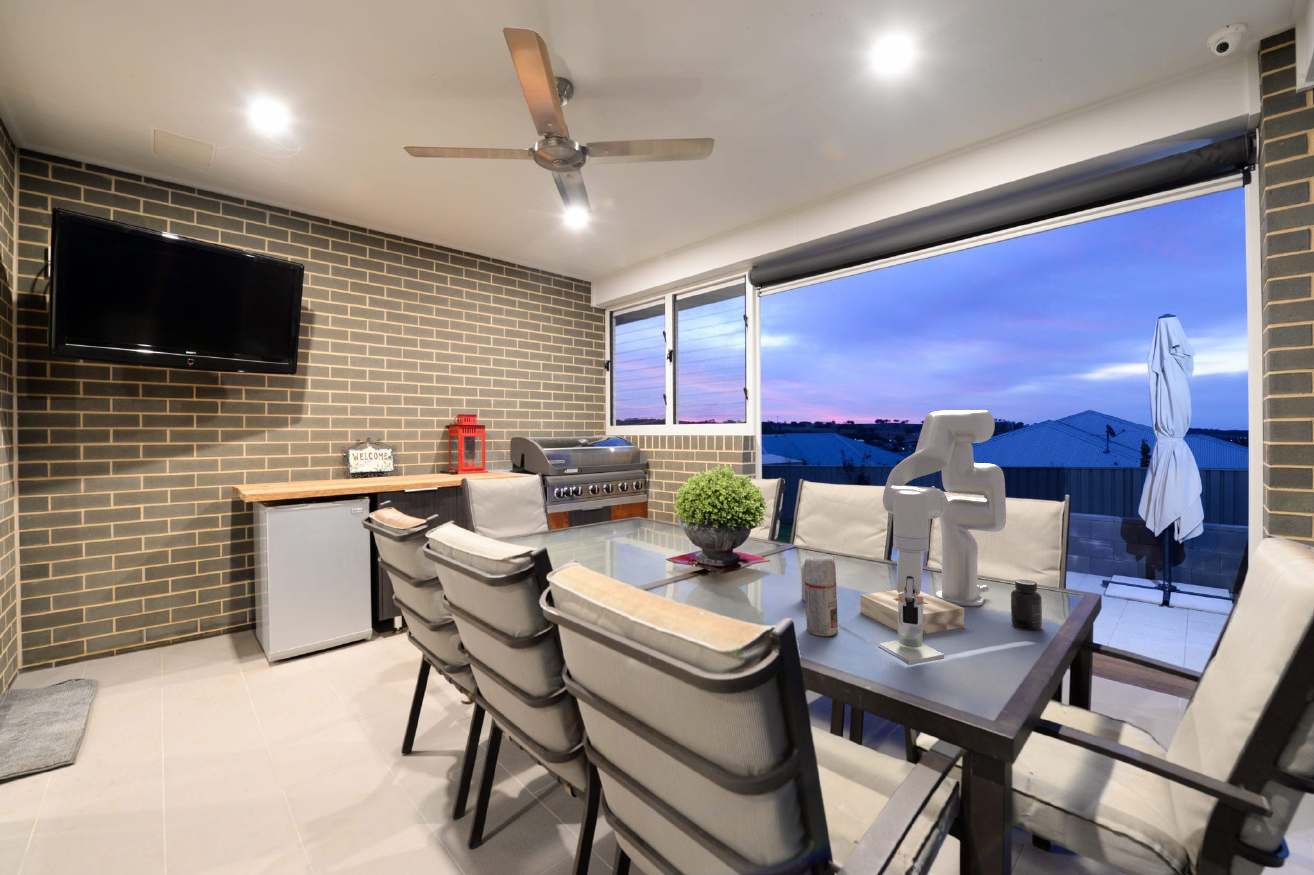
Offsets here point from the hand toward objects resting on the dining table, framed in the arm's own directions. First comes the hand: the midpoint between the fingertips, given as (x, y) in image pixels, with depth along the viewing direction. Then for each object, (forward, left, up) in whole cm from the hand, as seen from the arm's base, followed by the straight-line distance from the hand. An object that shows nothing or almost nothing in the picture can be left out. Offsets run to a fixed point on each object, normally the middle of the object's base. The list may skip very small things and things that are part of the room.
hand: (910, 618), depth 126 cm
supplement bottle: (-41, -3, -9) cm, 42 cm away
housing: (-14, -15, -8) cm, 22 cm away
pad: (0, 0, -8) cm, 8 cm away
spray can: (+12, -18, -9) cm, 23 cm away
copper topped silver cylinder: (0, 0, -6) cm, 6 cm away
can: (0, -39, -9) cm, 40 cm away
